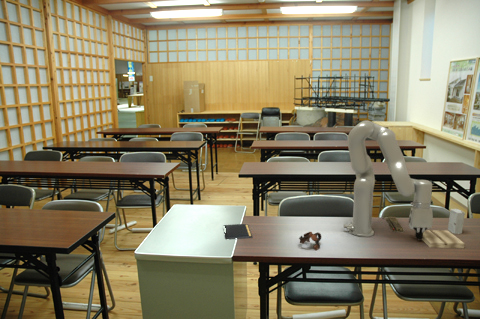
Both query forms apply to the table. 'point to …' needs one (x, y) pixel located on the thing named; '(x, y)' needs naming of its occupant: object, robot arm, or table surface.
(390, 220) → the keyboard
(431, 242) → the plank
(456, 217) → the skincare box
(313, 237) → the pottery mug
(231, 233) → the wallet
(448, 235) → the laid board
